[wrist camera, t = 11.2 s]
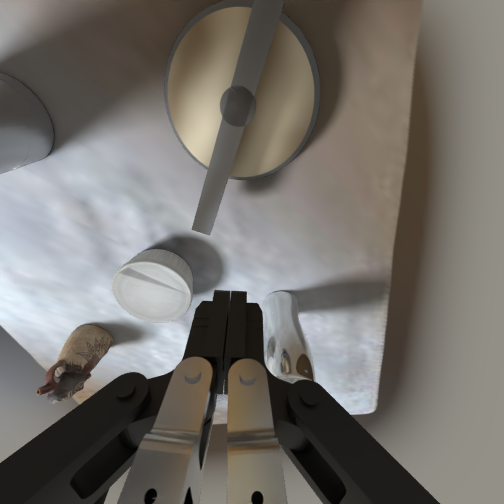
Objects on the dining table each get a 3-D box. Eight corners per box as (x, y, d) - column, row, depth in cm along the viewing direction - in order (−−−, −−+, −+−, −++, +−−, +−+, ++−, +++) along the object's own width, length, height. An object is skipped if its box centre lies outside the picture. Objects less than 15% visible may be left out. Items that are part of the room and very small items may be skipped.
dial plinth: (238, 201, 34) (237, 206, 33) (138, 94, 28) (131, 94, 27) (346, 111, 29) (350, 112, 27) (249, -49, 22) (248, -59, 21)
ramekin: (187, 237, 38) (178, 257, 33) (206, 295, 43) (200, 319, 39) (114, 246, 39) (96, 267, 34) (142, 302, 44) (129, 326, 40)
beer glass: (309, 306, 44) (330, 395, 31) (276, 324, 46) (283, 413, 34) (284, 281, 41) (296, 367, 28) (251, 302, 44) (248, 389, 31)
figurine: (92, 352, 52) (51, 417, 42) (65, 330, 48) (14, 394, 38) (121, 343, 50) (85, 408, 40) (95, 319, 47) (49, 383, 36)
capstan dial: (154, 191, 32) (133, 211, 27) (207, -116, 19) (188, -194, 14) (261, 227, 34) (262, 252, 29) (370, -26, 22) (407, -64, 16)
